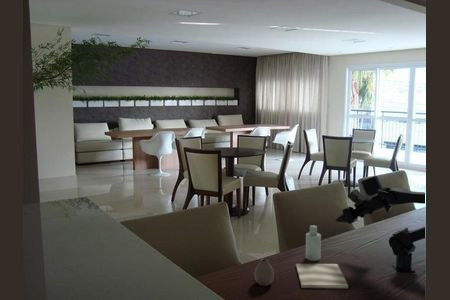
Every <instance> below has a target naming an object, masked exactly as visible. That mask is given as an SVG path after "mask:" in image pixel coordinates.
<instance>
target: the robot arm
mask: <svg viewBox="0 0 450 300" xmlns="http://www.w3.org/2000/svg"><path fill="white" fill-rule="evenodd" d="M379 180H380V179H379V178H378V175H374V176H371V177H369V178H366V179H364V180H362V181H360V184H361V187H362V188H363V190H364V192H365V194H366V195H367V196H369V197H368V198H366V197H365V196H364V194H363V193H361V192H360V190H358V189H356V188H355V189H352V190H351V191H350V192H348V195H347V198H348V199H349V200H351V202H353V203H354V204H353V207H352V206H348V207H346V208H343V209H342V214H340V215H339V216H338V217H337V218H336V219H335V221H336V222H337V223H346V224H349V225H352V224H353V223H355V222H357V221H358V219H359V218H358V217H360V219H362V218H364V217H366V216H369V215H372V214H374V213H376V212H379V211H382V210H385V211H386V213H389V212H392V211H393V207H394V205H395V206H396V205H404V204H410V203H411V204H425V191H424V192H423V191H412V190H408V189H406V188H402V187H388V186H382V184H381V182H380V181H379ZM424 239H426V238H425V226H422V227H419V228H417V229H414V230H409V229H408V227H405V228H403V229H398V230H396V231H395V232H394V233H392V236H391V237H389V240H388V245H389V246H390V248H391V249H392V253H393V256H395V263H392V267H393V268H394V269H395V270H396V271H397V272H400V273H401V272H404V273H405V272H408V273H413V272H415V273H416V270H415V268H414V267H413V266H412V265H413V252H415V250H416V249H417V247H416V245H415V244H414V243H416V242H419V241H421V240H424Z"/></svg>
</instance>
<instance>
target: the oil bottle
mask: <svg viewBox="0 0 450 300" xmlns="http://www.w3.org/2000/svg"><path fill="white" fill-rule="evenodd" d="M321 241H322V234H320V233H318V226H317V225H314V224H313V225H309V232H306V233H305V259H307V260H308V261H312V262H313V261H314V262H316V261H320V260H321V257H322V255H321V254H322V253H321V249H322V247H321V245H322V244H321Z"/></svg>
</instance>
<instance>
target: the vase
mask: <svg viewBox="0 0 450 300" xmlns="http://www.w3.org/2000/svg"><path fill="white" fill-rule="evenodd" d="M274 278H275V272H274V269H273V267H272V265H271V264H270V263H269V261H268V259H266V258H262V259H260V261H259V263H257V265H256V267H255V269H254V279H255V281H256V283H257V284H258V285H259V286H261V287H262V286H263V287H267V286H269V285H271V284H272V283H273V281H274Z"/></svg>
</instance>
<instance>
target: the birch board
mask: <svg viewBox="0 0 450 300" xmlns="http://www.w3.org/2000/svg"><path fill="white" fill-rule="evenodd" d="M295 266H296V272H297V276H298V278H299V279H298V280H299V282H300V287H301V288H302V289H349V284H348V282H347V280H346V278H345V276H344V274H343V273H342V270H341V268H340V266H339V265H338V264H337V263H295Z"/></svg>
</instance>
